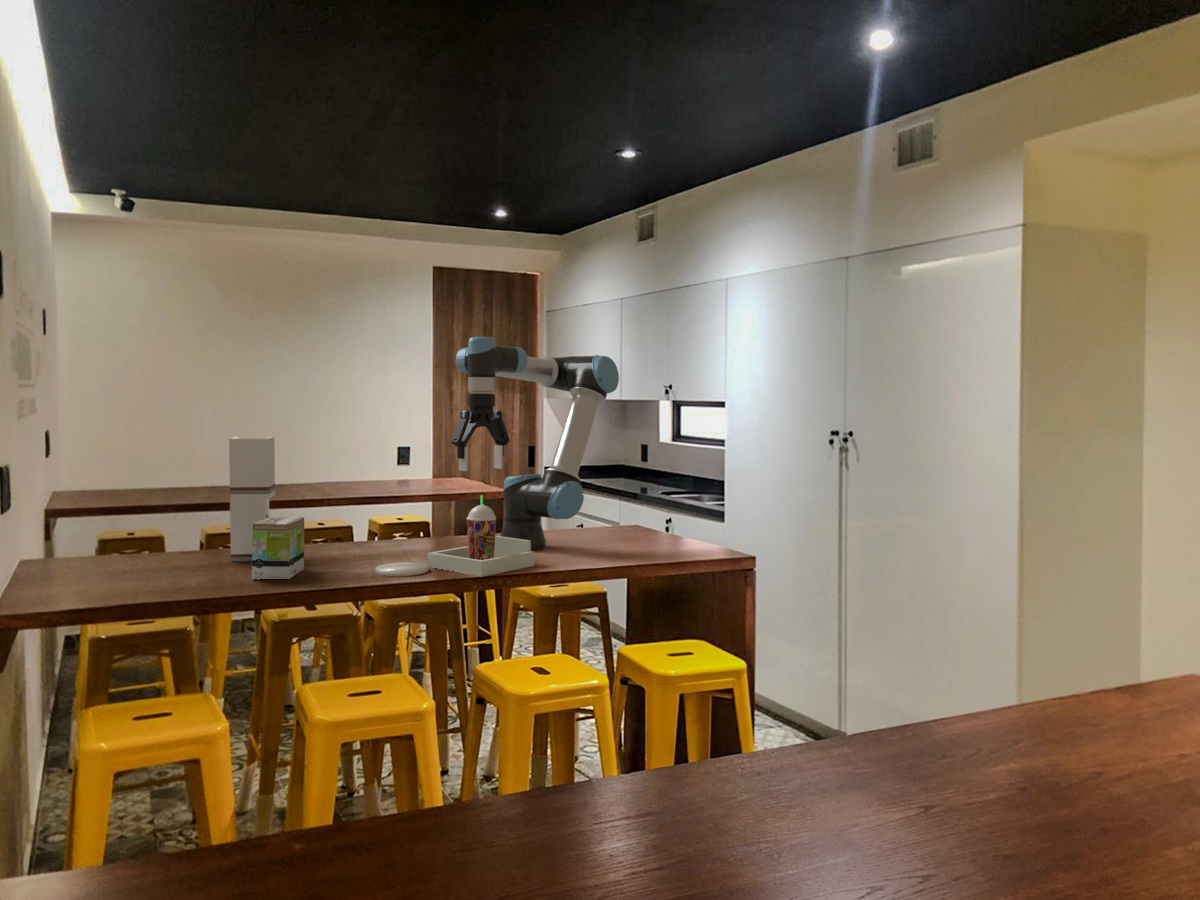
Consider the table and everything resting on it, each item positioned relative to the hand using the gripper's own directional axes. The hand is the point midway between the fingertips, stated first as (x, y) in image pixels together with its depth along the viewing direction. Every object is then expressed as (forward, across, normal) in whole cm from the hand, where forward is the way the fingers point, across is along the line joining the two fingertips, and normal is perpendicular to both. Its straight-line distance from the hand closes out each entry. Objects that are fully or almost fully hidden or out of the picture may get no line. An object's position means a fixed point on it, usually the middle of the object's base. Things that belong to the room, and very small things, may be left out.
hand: (481, 469), depth 257 cm
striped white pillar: (+28, +33, -60) cm, 74 cm away
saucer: (+27, +19, -11) cm, 35 cm away
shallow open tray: (+27, 0, 0) cm, 27 cm away
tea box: (+28, +43, -32) cm, 60 cm away
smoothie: (+27, 0, 0) cm, 27 cm away
